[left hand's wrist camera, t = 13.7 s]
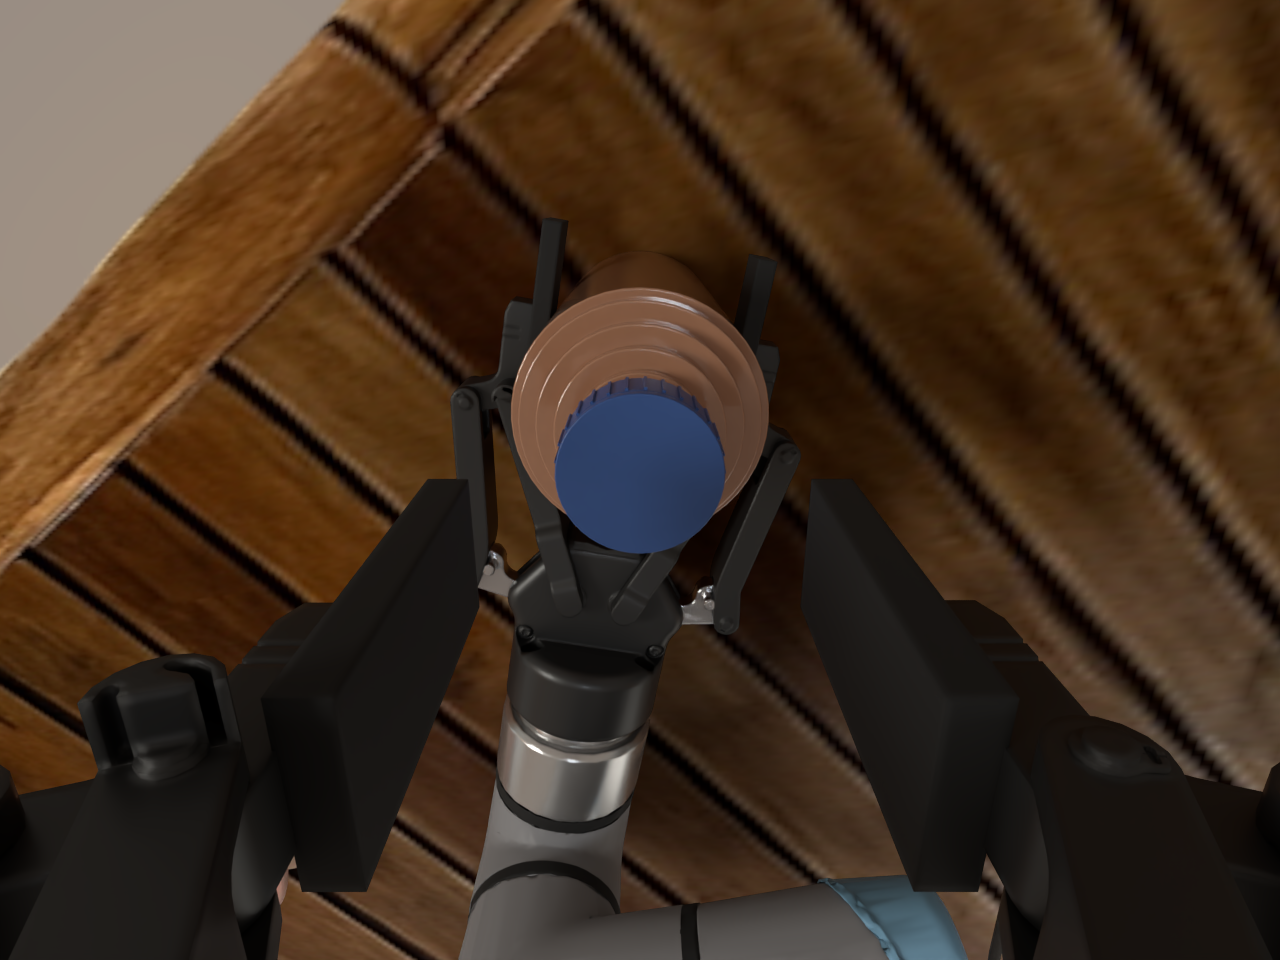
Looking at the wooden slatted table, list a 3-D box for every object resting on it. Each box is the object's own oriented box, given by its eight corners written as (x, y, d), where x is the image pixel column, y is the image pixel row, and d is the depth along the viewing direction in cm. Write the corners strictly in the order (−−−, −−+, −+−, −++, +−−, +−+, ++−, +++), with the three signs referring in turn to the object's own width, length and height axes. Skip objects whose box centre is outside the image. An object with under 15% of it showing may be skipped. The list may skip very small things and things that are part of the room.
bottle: (747, 317, 38) (866, 444, 18) (653, 433, 40) (665, 661, 20) (625, 217, 36) (608, 236, 16) (533, 344, 38) (418, 497, 18)
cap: (754, 440, 19) (764, 462, 18) (653, 556, 20) (654, 586, 19) (625, 341, 18) (623, 354, 17) (527, 468, 20) (517, 492, 18)
